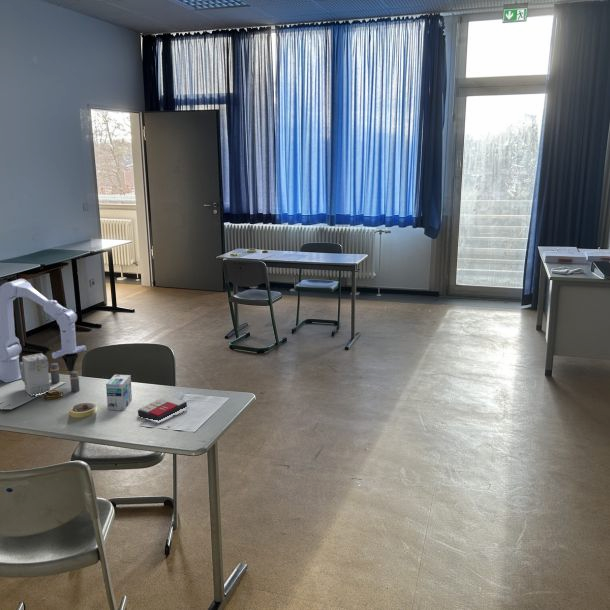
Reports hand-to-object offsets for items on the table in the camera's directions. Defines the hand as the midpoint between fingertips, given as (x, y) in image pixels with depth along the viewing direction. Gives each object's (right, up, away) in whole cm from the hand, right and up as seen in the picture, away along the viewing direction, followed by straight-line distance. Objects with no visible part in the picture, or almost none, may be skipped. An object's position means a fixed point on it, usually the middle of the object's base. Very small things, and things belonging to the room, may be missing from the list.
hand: (70, 370), depth 254 cm
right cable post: (+4, -8, -5) cm, 10 cm away
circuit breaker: (-12, -8, -5) cm, 16 cm away
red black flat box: (+45, -14, -25) cm, 53 cm away
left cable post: (-8, -5, +4) cm, 10 cm away
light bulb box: (+26, -12, -18) cm, 34 cm away
